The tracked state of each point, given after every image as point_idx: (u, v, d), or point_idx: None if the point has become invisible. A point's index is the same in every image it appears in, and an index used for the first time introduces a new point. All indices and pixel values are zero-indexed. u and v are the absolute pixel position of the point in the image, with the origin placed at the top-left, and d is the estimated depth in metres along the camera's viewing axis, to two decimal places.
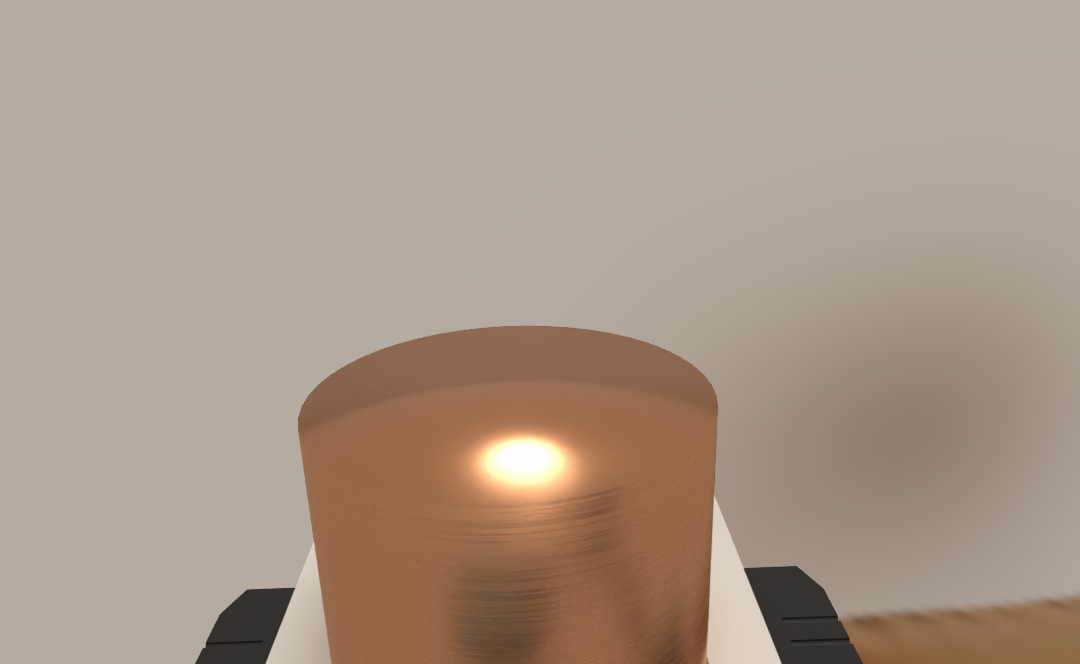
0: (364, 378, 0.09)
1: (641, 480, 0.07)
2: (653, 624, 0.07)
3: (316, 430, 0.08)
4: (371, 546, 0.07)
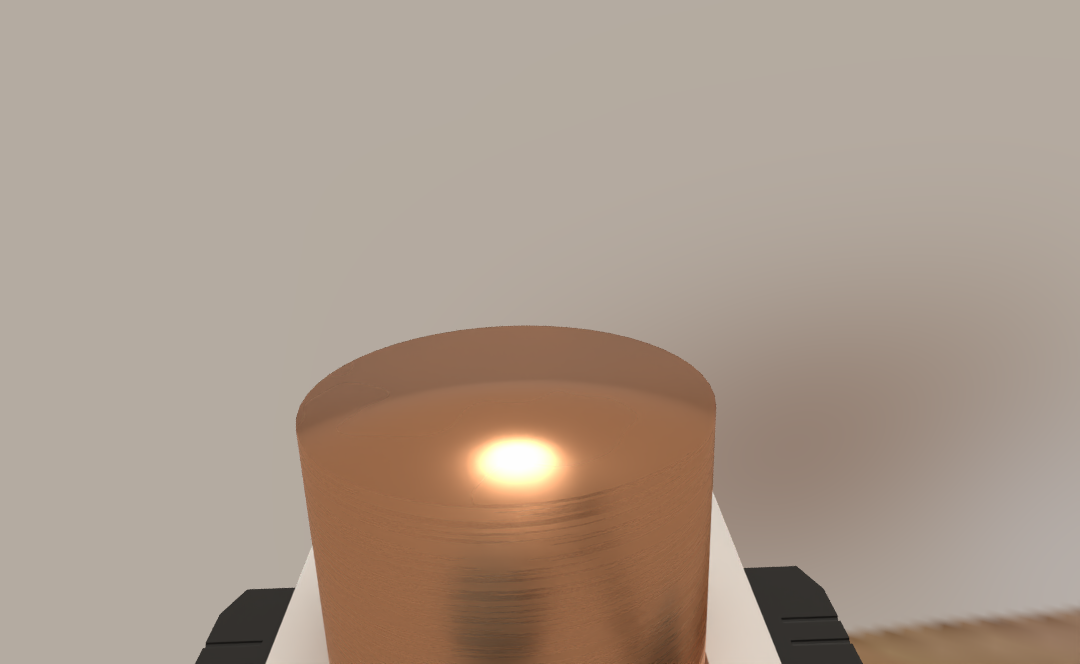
0: (362, 378, 0.09)
1: (638, 480, 0.07)
2: (652, 624, 0.07)
3: (312, 430, 0.08)
4: (368, 547, 0.07)
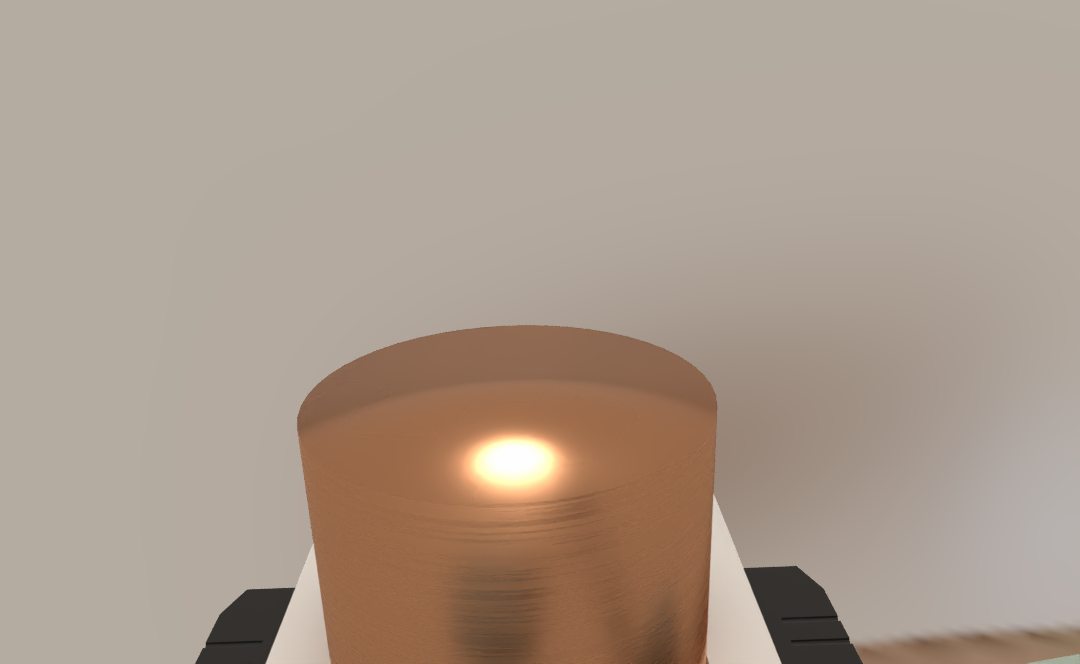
0: (363, 378, 0.09)
1: (639, 480, 0.07)
2: (653, 624, 0.07)
3: (313, 430, 0.08)
4: (370, 545, 0.07)
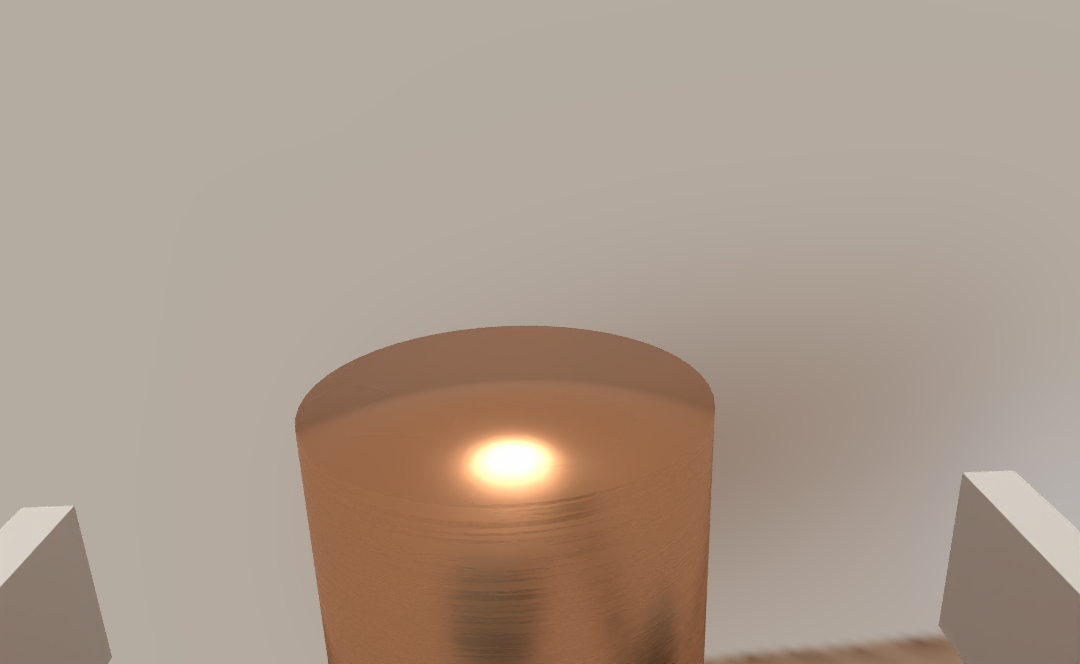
0: (361, 378, 0.09)
1: (636, 480, 0.07)
2: (650, 623, 0.08)
3: (312, 429, 0.08)
4: (367, 546, 0.07)
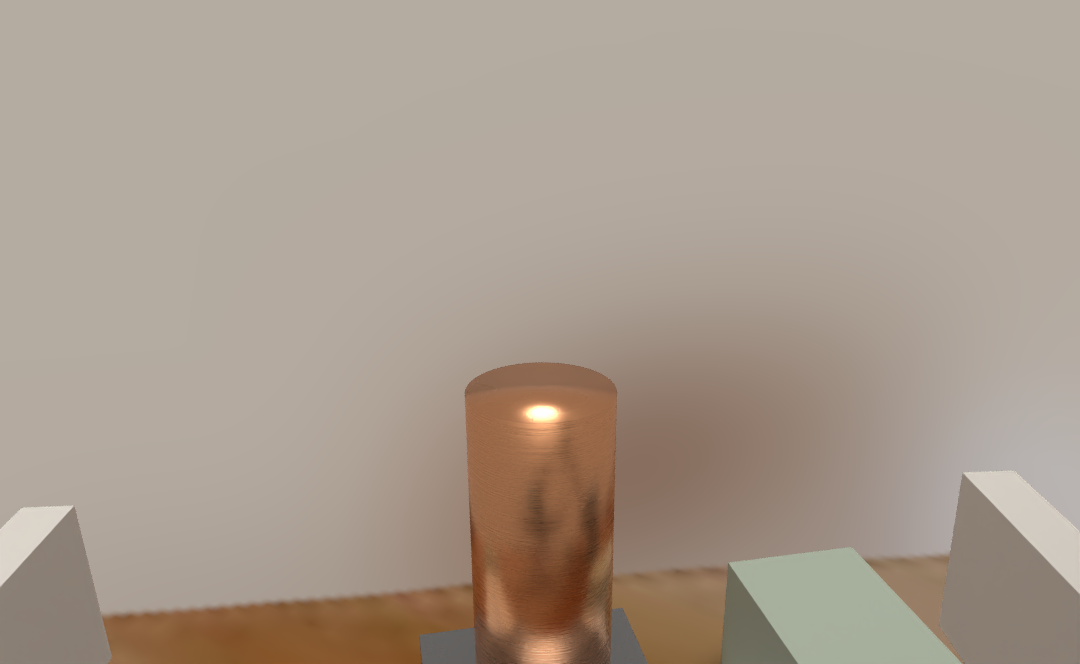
0: (484, 383, 0.23)
1: (585, 417, 0.21)
2: (590, 469, 0.22)
3: (473, 400, 0.22)
4: (496, 438, 0.21)
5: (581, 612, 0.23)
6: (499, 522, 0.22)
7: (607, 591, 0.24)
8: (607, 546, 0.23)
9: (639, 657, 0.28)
